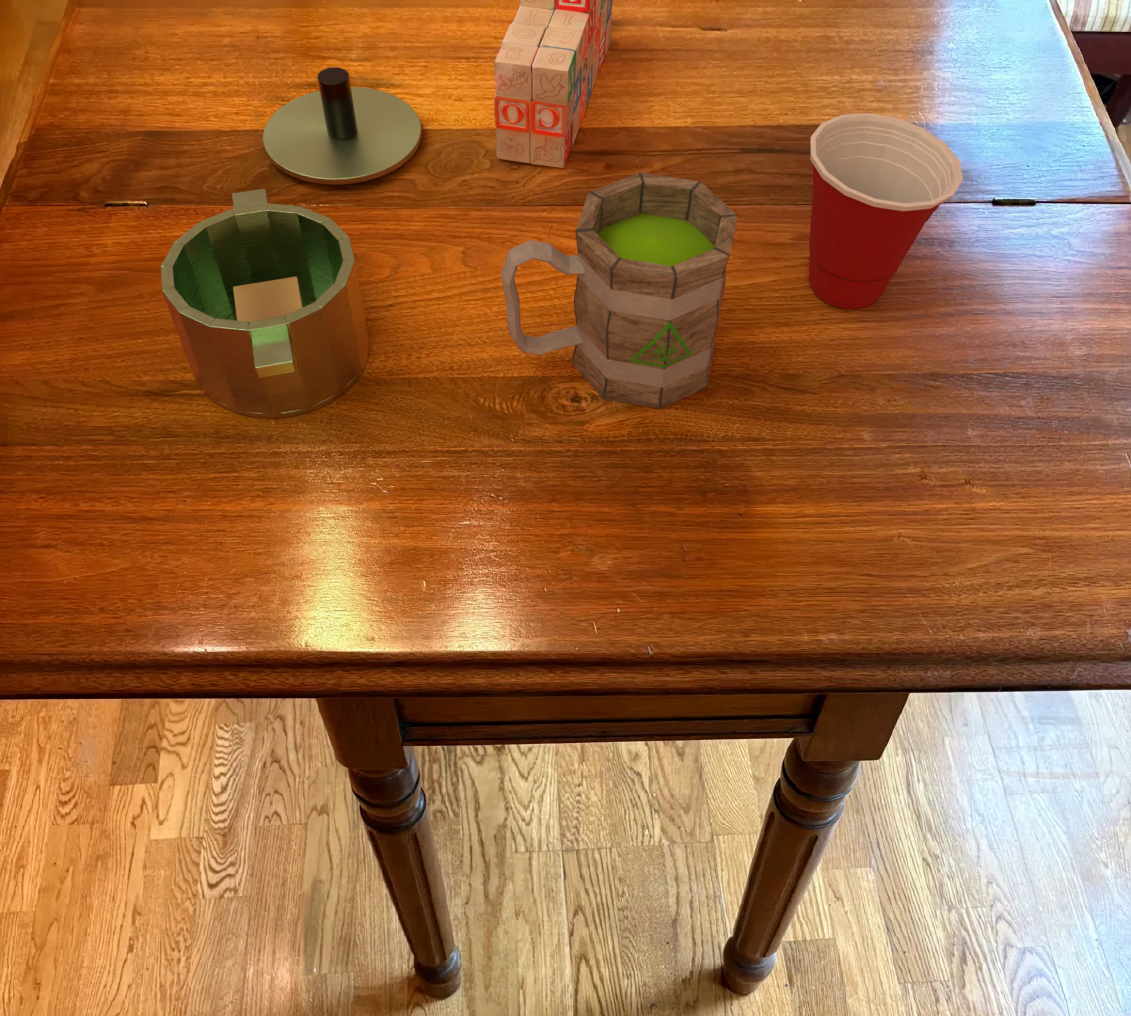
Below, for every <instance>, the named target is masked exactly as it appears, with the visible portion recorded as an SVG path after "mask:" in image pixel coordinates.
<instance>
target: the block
mask: <svg viewBox="0 0 1131 1016" xmlns="http://www.w3.org/2000/svg"><path fill="white" fill-rule="evenodd" d="M233 292H234V300H235V308H236V316H237V321H245V322H251V321H257V320H263V319H269V318H275V317H281V316H285V315H288V314H290V313H292V312H294V311H296V310H298V309H301V308H303V307H304V304H303V299H302V295H301V291H300V287H299V282H298V278H297V277H290V278H284V279H277V280H271V281H265V282H259V283H252V284H246V285H240V286H234V287H233Z"/></svg>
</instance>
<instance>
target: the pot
mask: <svg viewBox="0 0 1131 1016" xmlns="http://www.w3.org/2000/svg"><path fill="white" fill-rule="evenodd" d="M231 199H232V207H233V208H230V209H227V210H224V211H223V212H219V213H217V214H214V215H212V216H209V217H207V218H206V219H203V220H200V221H199V222H197V223H196V224H194V225H193V226H192V227H190V228H189V229H188V230H187V231H186V232H184V233H183V234H182V235H181V236H180V237H178V238H177V239H176V240H174V242H173V243H172V245H171V247H170V248H169V250H168V252H167V254H166V255H165V257H164V259H163V261H162V263H161V265H160V277H161V279H160V280H161V291H162V294H163V297H164V300H165V302H166V305H167V307H168V310H169V313H170V316H171V318H172V321H173V324H174V327H175V329H176V332H177V335H178V338H179V340H180V343H181V346H182V349H183V352H184V354H185V356H186V359H187V362H188V364H189V367H190V371H191V372H192V375H193V378H194V379H195V380H196V382H197V384H198V385H199V387H200V389H201V391H203V393H204V394H205V395H206V396H207V397H208V399H210V400H212V401H213V402H214V403H215V404H216V405H218V406H220V407H221V408H223V409H225V410H228V411H230V412H232V413H235V414H239V415H241V416H245V417H250V418H251V417H252V418H258V419H281V418H288V417H294V416H298V415H303V414H306V413H309V412H312V411H316V410H318V409H320V408H322V407H325V406H327V405H328V404H331V403H332V402H334V401H336V400H337V399H338V398H340V397H341V396H343V395H344V394H345V393H346V392H347V391H349V390H350V389H351V388H352V387H353V386H354V385H355V383H356V382H357V381H358V380H359V378H360V377H361V375H362V374H363V372H364V370H365V368H366V365H367V363H368V359H369V355H370V347H371V345H370V344H371V343H370V338H369V332H368V327H367V321H366V315H365V309H364V304H363V299H362V298H363V297H362V293H361V288H360V281H359V276H358V275H359V274H358V270H357V264H356V260H355V255H354V250H353V246H352V242H351V238H350V236H349V235H348V234H347V233H346V232H345V231H344V230H343V229H342V228H341V227H340V226H339V225H338V224H337V223H336V222H335V221H334V220H333V219H332V218H330V217H328V216H326V215H323V214H321V213H319V212H316V211H314V210H312V209H309V208H306V207H304V206H301V205H289V204H279V203H271V202H270V203H269V198H268V195H267V190H266V188H260V189H259V188H258V189H253V190H247V191H239V192H233V193H231ZM290 277H297V278H298V282H299V287H300V291H301V295H302V299H303V304H304V307H303V308H301V309H298V310H296V311H294V312H292V313H290V314H288V315H285V316H281V317H275V318H269V319H263V320H257V321H251V322H245V321H237V316H236V308H235V300H234V292H233V287H234V286H240V285H246V284H252V283H259V282H265V281H271V280H277V279H284V278H290Z"/></svg>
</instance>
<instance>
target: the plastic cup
mask: <svg viewBox="0 0 1131 1016" xmlns="http://www.w3.org/2000/svg"><path fill="white" fill-rule="evenodd" d="M809 143H810V144H809V145H810V162H811V163H812V181H811V182H812V184H811V185H812V195H811V210H810V226H809V238H808V239H809V241H808V242H809V244H808V245H809V246H808V247H809V252H808V253H809V259H808V260H809V261H808V280H809V287H810V289H811V290H812V292H813V293H814V295H815V296H816V297H817V298H819V299H820V300H821V301H822V302H824V303H825V304H827V305H830V306H833V307H834V308H838V309H846V310H858V309H864V308H868V307H870V306H872V305H873V304H875V303H876V302H878V300H879V298H881V297H882V295H883V294H884V292H885V291H886V289H887V287H888V285H889V284H890V282H891V280H892V278H893V276H894V274H895V273H897V271H898V269H899V268H900V266H901V264H902V263H903V261H904V259H905V258H906V256H907V255H908V253H909V251H910V249H911V248H912V246H913V244H914V242H915V241H916V239H917V238H918V236H919V234H920V232H921V231H922V229H923V228H924V226H925V224H926V223H927V222H929V220H930V219H931V217H932V215H933V214H934V213H935V212H936V211H937V210H938V208H939V207H940V206H941V205H943V203H944V202H947V201H948V200H950V199H951V198H952V197H954V195H955V193H956V192H957V191H958V188H959V186H961V184H962V182H963V180H964V178H963V172H962V166H961V161H960V160H959V159H958V157H957V156H956V154H955V153H954V151H952V149H951V148H950V147H949V145H948V144H947V143H946V142H945V141H943V140H941V139H940V138H938V136H936V135H934V134H933V133H931V132H930V131H928V130H927V129H926V128H924V127H921V126H919V125H917V124H913V123H911V122H908V121H906V120H903V119H901V118H898V117H895V116H890V115H889V116H888V115H883V114H882V115H881V114H876V113H871V112H863V113H849V114H841V115H838V116H835V117H833V118H830V119H828V120H826V121H824V122H821V123H820V124H819V125H818V127H817V129H816V130H815V131H814V132H813V133H812V135H810V142H809Z"/></svg>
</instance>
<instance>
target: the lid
mask: <svg viewBox="0 0 1131 1016" xmlns="http://www.w3.org/2000/svg"><path fill="white" fill-rule="evenodd" d="M317 83H318V89H319V90H316V91H312V92H308V93H306V94H303V95H301V96H298V97H296V98H294V99H292V100H290V101H288V102H287V103H285V104H284V105H282V106H280V107H279V108H278V109H277V110H276V111H275V112H274V113H273V114H272V115H271V117H270V118H269V119H268V120H267V122H266V124H265V126H264V129H263V134H262V144H263V147H264V151H265V154H266V156H267V157H268V159H269V161H270V162H271V163H272V164H273V166H275V167H276V168H277V169H278V170H280V171H281V172H283V173H284V174H285V175H288V176H290V177H292V178H295V179H297V180H301V181H303V182H308V183H313V184H319V185H330V186H331V185H333V186H334V185H335V186H336V185H337V186H338V185H352V184H359V183H364V182H368V181H371V180H376V179H378V178H380V177H383V176H386V175H388V174H389V173H392V172H394V171H395V170H397V169H399V168H401V167H402V166H403V165H404V164H406V163H407V162H408V161H409V160H410V159H411V158H412V157H413V156H414V155H415V153H416V152H417V150H418V149H419V146H420V145H421V141H422V131H423V130H422V124H421V120H420V118H419V116H418V114H417V113H416V110H414V109H413V107H412V106H411V105H410V104H408V103H407V102H406V101H405V100H403V99H401V98H399V97H397V95H394V94H391V93H389V92H386V91H383V90H379V89H374V88H370V87H363V86H362V87H359V86H352V85H351V79H350V74H349V72H348V71H347V70H346V69H345V68H343V67H336V66H333V67H332V66H331V67H327V68H324V69H322V70H320V71H319V72H318V74H317Z"/></svg>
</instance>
